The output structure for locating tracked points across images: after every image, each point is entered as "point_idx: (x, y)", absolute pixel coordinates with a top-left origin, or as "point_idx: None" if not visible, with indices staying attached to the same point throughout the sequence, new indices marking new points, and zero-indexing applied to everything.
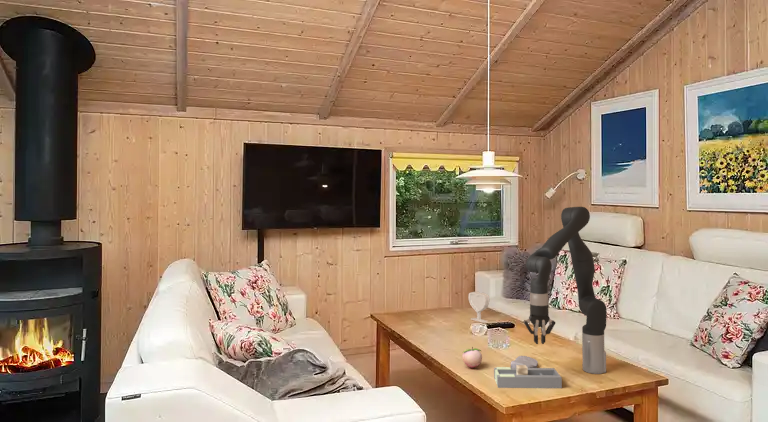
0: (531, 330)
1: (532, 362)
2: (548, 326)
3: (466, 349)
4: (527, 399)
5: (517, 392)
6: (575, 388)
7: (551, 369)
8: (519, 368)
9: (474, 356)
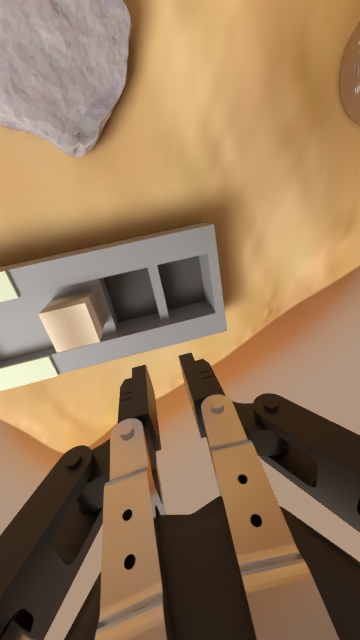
0: (91, 530)
1: (100, 54)
2: (324, 464)
3: None
4: None
5: (83, 382)
6: (255, 304)
7: (200, 247)
8: (63, 350)
9: None
